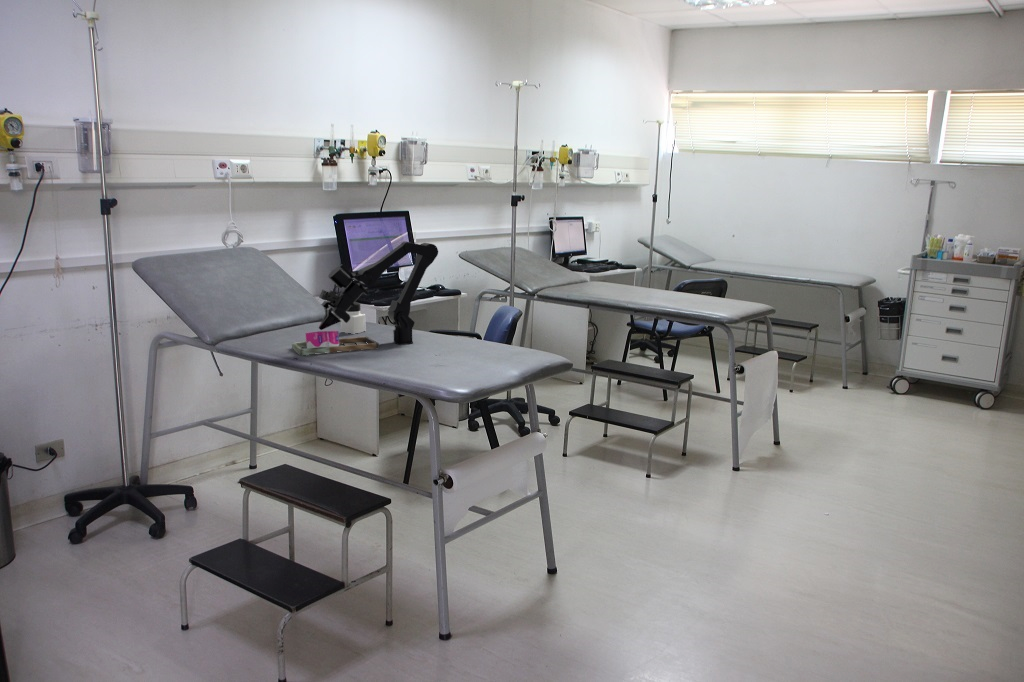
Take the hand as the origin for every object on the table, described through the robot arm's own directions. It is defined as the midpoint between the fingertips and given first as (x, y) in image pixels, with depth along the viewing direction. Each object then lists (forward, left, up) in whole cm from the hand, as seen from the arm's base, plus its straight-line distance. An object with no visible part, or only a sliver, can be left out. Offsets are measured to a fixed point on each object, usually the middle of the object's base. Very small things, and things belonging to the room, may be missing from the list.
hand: (319, 329), depth 290 cm
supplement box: (-5, -2, -4) cm, 7 cm away
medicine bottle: (-12, -32, -8) cm, 35 cm away
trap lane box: (-5, -1, -8) cm, 9 cm away
